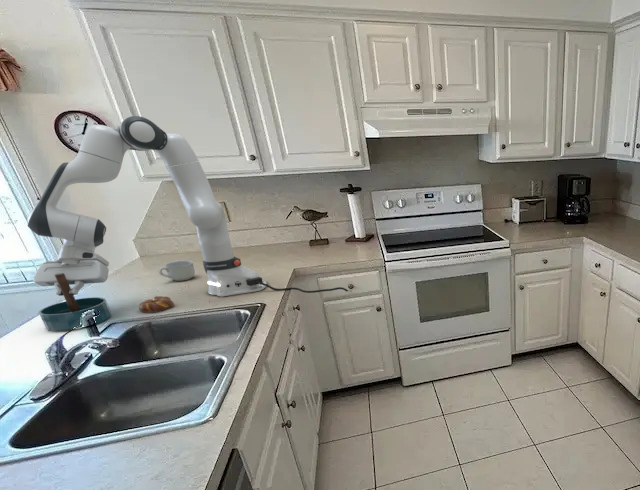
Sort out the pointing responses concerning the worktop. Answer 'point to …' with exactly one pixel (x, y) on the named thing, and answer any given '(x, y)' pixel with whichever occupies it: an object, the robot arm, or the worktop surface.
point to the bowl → (73, 313)
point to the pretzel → (156, 304)
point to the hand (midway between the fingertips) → (66, 294)
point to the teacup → (178, 270)
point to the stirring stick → (67, 292)
